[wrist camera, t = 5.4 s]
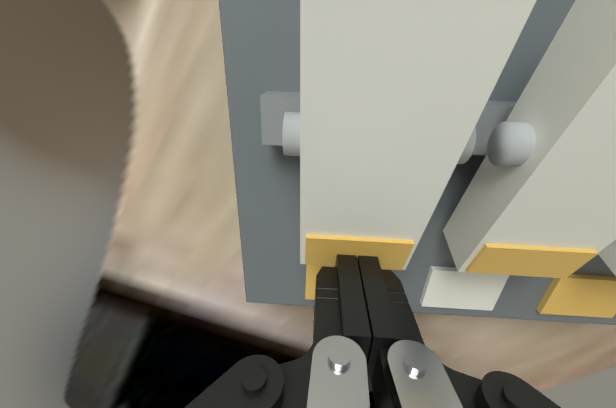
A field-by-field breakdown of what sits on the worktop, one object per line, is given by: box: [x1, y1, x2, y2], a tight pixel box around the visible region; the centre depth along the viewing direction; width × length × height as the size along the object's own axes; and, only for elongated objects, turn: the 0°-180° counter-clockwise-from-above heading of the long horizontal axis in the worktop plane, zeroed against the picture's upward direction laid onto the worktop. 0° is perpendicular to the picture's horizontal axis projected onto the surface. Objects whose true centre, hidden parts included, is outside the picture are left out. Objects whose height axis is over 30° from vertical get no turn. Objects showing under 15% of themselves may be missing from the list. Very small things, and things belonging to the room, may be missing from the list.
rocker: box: [282, 0, 537, 270], centre depth 8 cm, size 10×5×2 cm, turn 178°
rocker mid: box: [443, 0, 616, 278], centre depth 8 cm, size 10×5×2 cm, turn 178°
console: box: [219, 0, 616, 325], centre depth 12 cm, size 18×22×5 cm
